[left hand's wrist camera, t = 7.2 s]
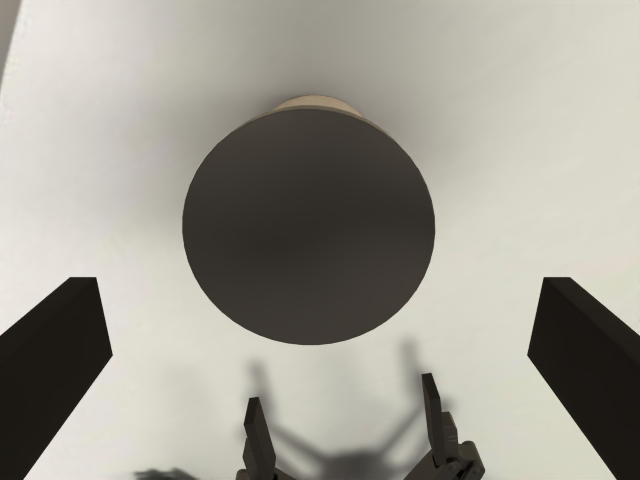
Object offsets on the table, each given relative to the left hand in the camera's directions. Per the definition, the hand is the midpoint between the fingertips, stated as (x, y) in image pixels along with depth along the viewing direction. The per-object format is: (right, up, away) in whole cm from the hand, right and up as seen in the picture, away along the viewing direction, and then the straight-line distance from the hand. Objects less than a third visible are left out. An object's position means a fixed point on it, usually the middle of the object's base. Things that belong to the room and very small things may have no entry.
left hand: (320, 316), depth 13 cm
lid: (0, +2, +5) cm, 6 cm away
